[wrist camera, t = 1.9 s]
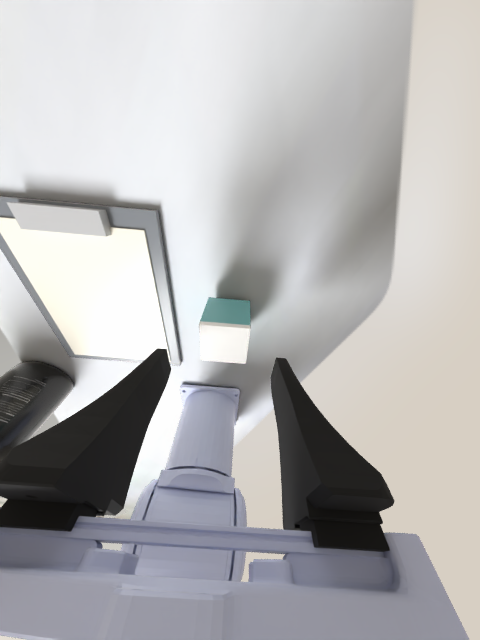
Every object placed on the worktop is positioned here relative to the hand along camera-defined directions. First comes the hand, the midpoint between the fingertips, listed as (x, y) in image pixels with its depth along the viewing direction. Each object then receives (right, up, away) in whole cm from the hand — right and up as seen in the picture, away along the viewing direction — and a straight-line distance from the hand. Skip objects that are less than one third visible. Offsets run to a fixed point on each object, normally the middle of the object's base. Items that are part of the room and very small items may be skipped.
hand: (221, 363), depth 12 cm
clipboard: (-12, +5, +5) cm, 14 cm away
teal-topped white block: (0, +4, +6) cm, 7 cm away
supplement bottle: (-25, -5, +13) cm, 28 cm away
